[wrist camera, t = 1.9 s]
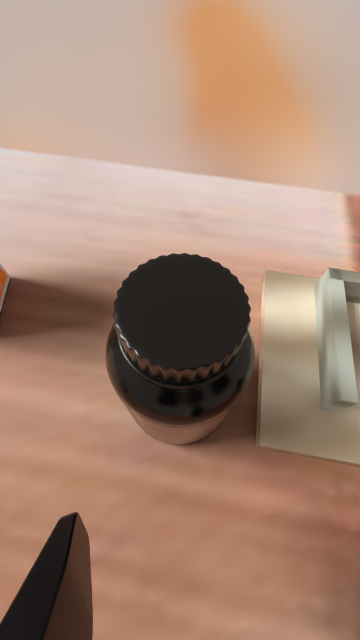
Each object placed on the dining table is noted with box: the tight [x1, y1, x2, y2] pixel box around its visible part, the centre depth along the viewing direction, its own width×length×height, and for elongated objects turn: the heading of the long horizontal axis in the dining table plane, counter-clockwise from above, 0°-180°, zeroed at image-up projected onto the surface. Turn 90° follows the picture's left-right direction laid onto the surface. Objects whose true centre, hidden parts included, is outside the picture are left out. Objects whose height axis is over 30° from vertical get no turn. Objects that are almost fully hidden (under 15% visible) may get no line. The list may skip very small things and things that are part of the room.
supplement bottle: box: [106, 253, 255, 445], centre depth 15 cm, size 7×7×12 cm
